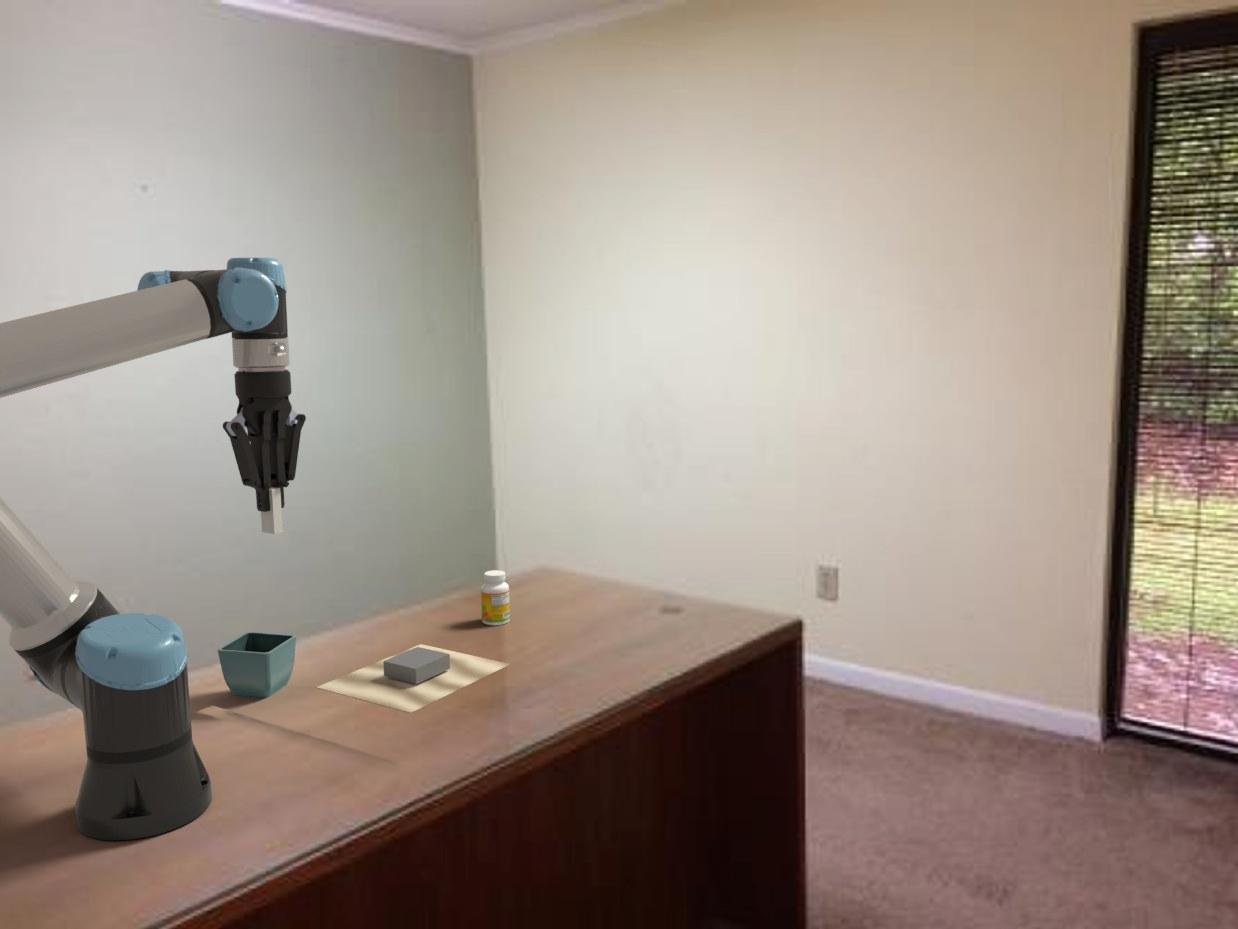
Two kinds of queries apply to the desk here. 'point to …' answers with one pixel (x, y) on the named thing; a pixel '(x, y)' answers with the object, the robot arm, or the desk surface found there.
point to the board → (409, 695)
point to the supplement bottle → (495, 598)
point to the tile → (416, 665)
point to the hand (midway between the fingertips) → (272, 532)
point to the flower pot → (258, 663)
